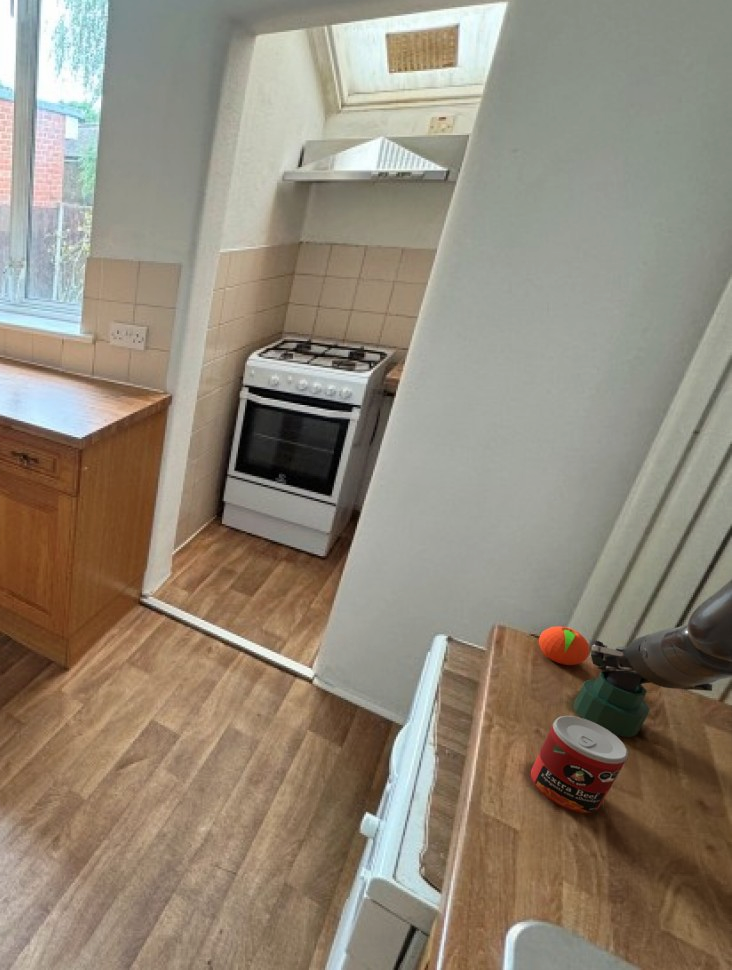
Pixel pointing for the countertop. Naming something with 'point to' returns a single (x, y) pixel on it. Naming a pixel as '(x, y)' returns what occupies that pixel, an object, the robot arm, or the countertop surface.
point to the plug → (624, 681)
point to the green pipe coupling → (612, 706)
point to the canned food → (578, 764)
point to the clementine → (564, 645)
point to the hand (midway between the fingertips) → (619, 671)
